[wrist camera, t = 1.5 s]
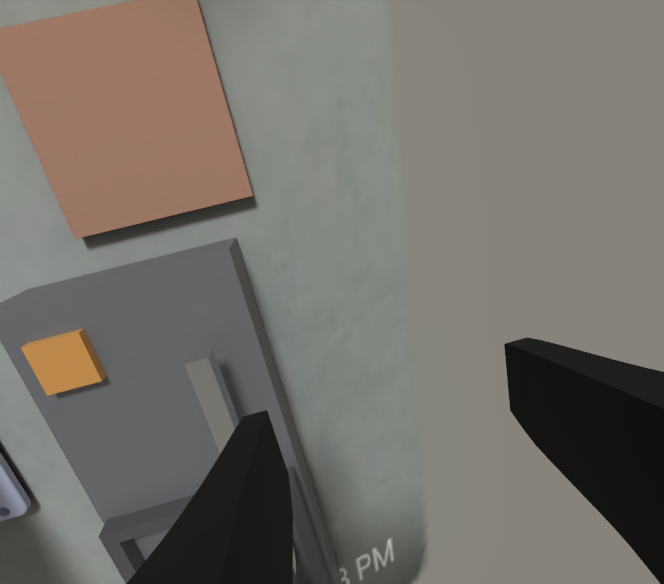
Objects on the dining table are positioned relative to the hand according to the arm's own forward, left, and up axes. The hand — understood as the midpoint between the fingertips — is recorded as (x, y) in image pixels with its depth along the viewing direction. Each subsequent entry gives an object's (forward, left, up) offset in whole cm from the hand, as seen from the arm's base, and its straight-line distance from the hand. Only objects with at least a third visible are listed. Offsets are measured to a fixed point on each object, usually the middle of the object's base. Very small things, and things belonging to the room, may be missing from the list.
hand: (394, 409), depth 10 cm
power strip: (-8, -6, -8) cm, 13 cm away
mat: (-6, +9, -8) cm, 14 cm away
